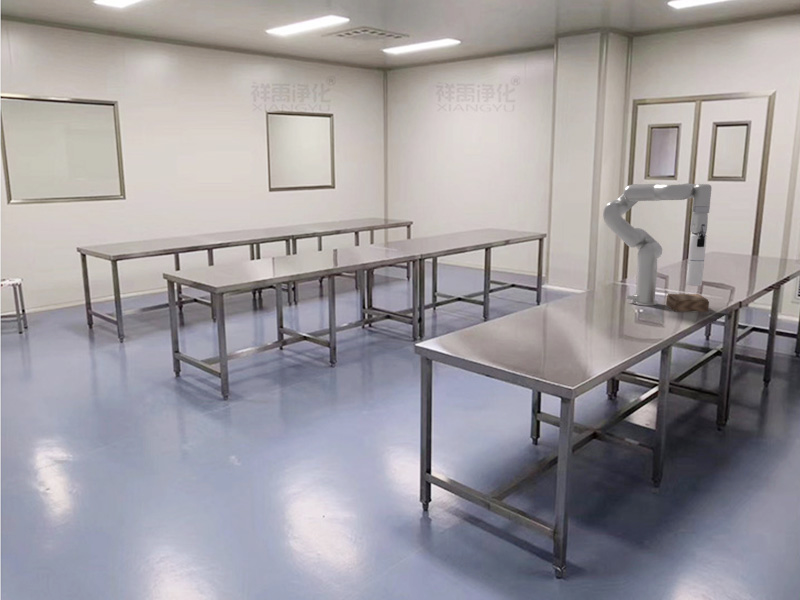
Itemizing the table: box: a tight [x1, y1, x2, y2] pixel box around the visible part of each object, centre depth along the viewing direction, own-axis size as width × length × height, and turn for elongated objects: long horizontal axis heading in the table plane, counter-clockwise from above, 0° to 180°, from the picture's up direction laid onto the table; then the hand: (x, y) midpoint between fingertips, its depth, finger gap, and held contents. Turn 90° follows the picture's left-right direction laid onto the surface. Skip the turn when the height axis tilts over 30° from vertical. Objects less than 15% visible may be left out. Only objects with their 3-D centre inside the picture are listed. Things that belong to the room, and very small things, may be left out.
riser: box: [665, 293, 710, 313], centre depth 321 cm, size 16×14×6 cm
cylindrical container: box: [685, 233, 708, 287], centre depth 315 cm, size 7×7×25 cm
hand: (697, 245), depth 314 cm, fingers closed on cylindrical container, 7 cm apart
